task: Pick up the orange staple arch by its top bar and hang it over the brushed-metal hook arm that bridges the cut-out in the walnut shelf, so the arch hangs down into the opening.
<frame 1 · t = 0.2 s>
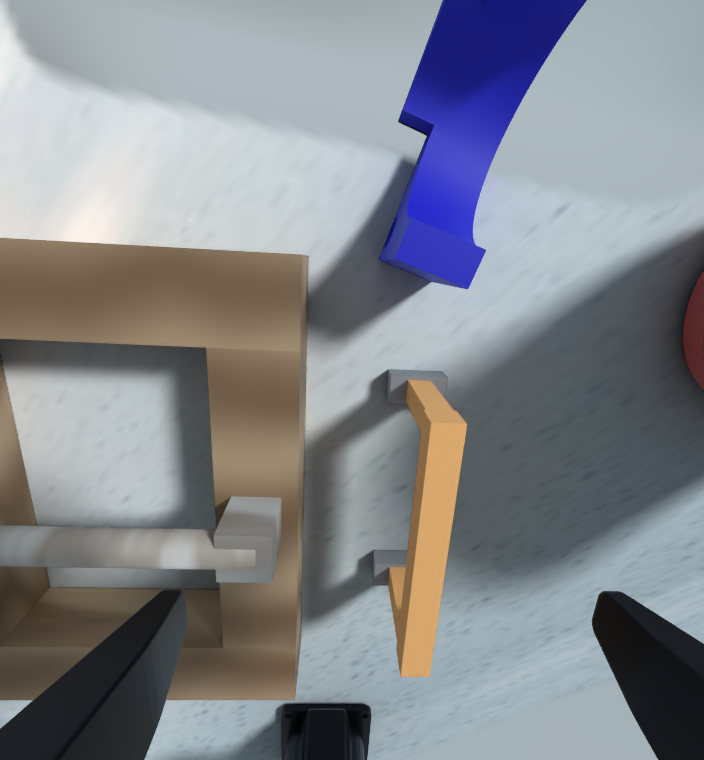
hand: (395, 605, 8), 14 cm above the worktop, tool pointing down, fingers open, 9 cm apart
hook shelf: (131, 471, 23), on the worktop
orange staple arch: (404, 479, 23), on the worktop
cable clip: (440, 143, 19), on the worktop
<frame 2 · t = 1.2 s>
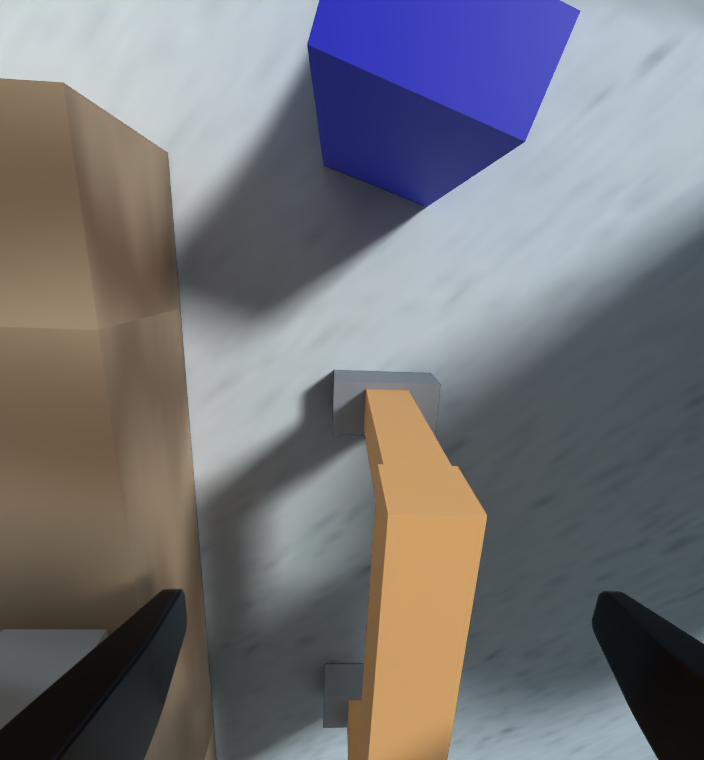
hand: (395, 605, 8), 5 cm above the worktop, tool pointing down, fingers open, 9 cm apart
orange staple arch: (370, 554, 14), on the worktop
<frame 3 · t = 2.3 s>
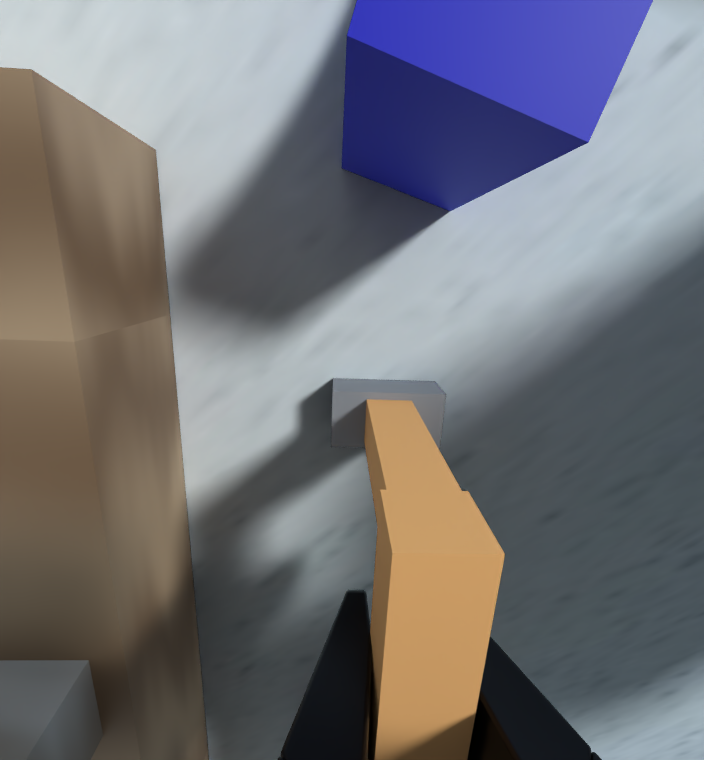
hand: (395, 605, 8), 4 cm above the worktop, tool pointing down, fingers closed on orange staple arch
orange staple arch: (371, 570, 13), on the worktop, touching gripper
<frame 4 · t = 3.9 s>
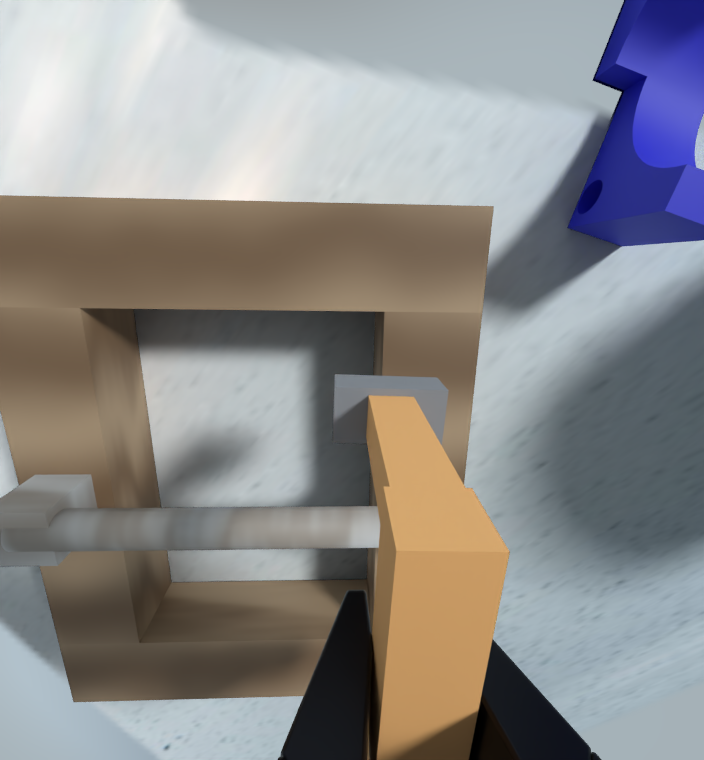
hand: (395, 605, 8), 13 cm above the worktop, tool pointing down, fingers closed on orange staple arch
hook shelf: (263, 456, 22), on the worktop
orange staple arch: (372, 566, 13), point 9 cm above the worktop, touching gripper
cable clip: (632, 99, 18), on the worktop
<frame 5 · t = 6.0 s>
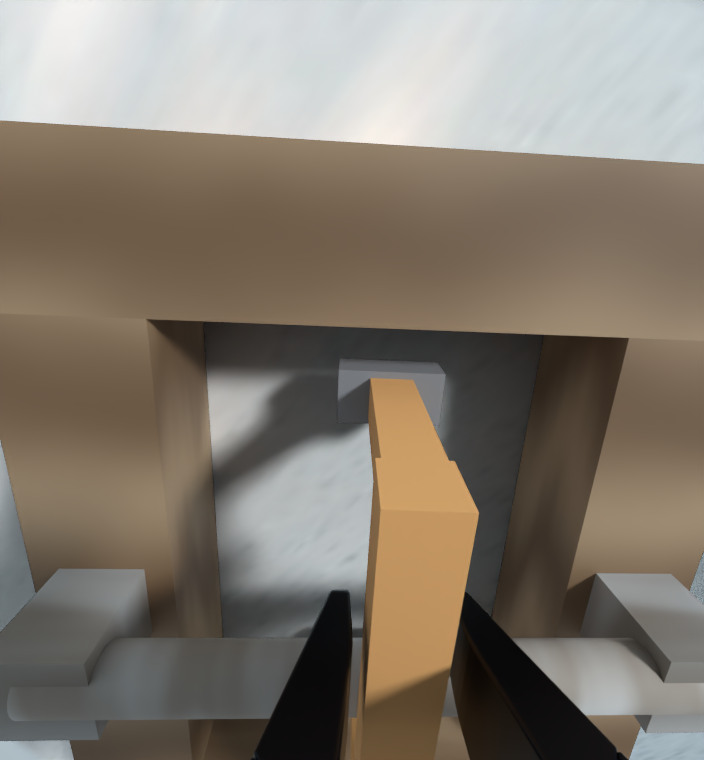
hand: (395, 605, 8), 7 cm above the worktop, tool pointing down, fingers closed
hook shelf: (365, 521, 16), on the worktop
orange staple arch: (374, 538, 14), point 2 cm above the worktop, touching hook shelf
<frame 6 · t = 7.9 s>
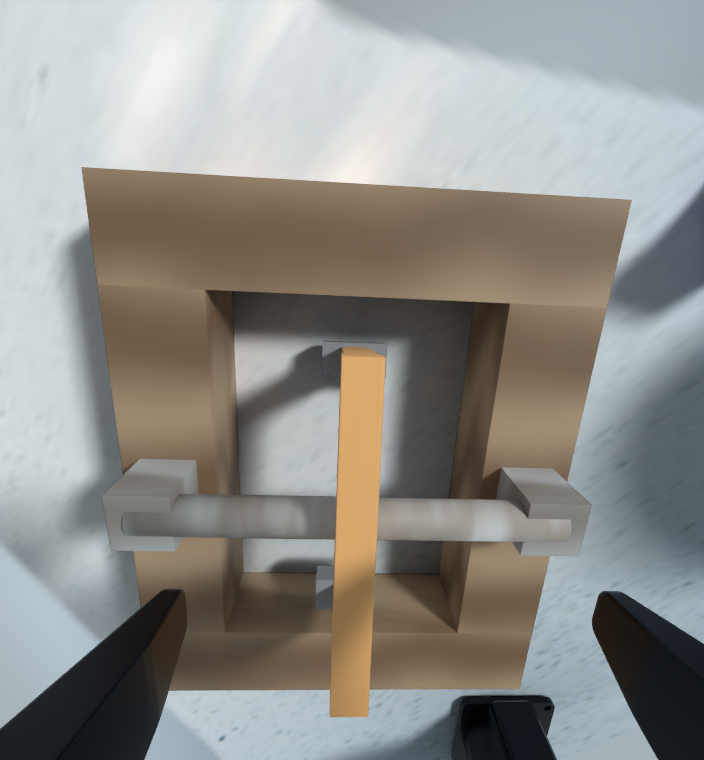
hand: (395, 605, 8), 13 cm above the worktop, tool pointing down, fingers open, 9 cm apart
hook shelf: (348, 447, 21), on the worktop
orange staple arch: (348, 473, 20), point 2 cm above the worktop, tilted 9°, touching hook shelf
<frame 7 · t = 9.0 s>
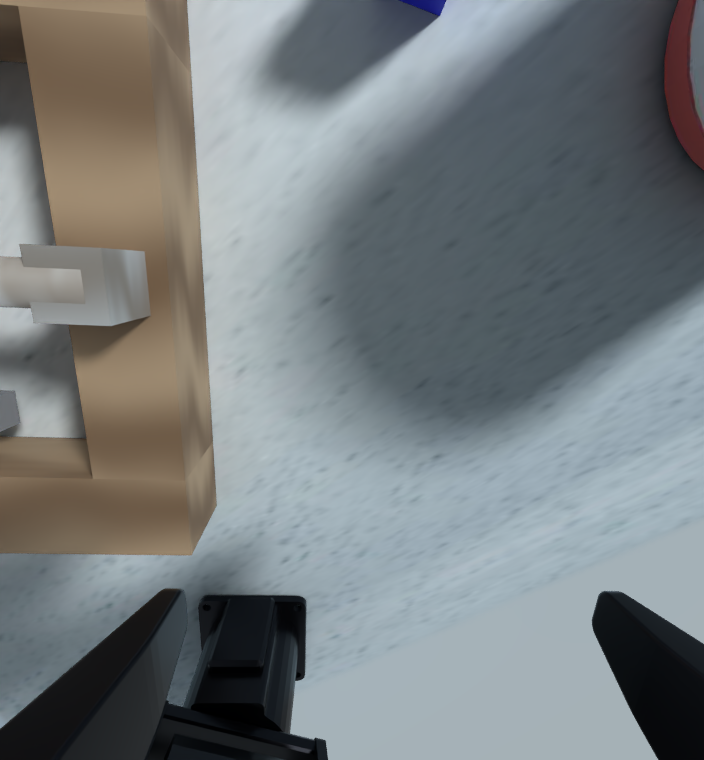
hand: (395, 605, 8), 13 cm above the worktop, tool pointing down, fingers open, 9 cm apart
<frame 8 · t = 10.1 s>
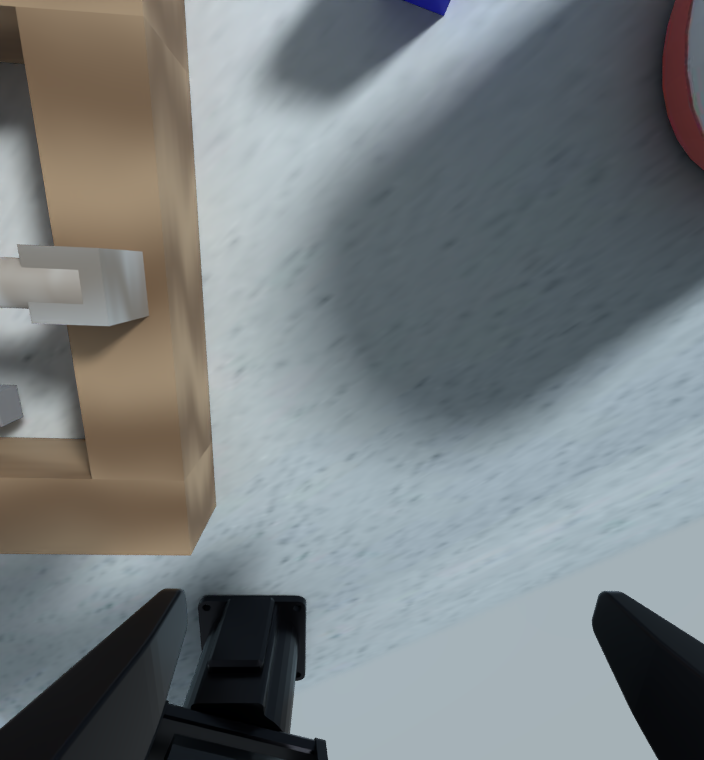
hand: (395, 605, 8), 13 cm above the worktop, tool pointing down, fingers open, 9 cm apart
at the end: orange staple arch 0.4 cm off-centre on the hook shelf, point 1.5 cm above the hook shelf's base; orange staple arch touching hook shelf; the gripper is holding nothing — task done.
